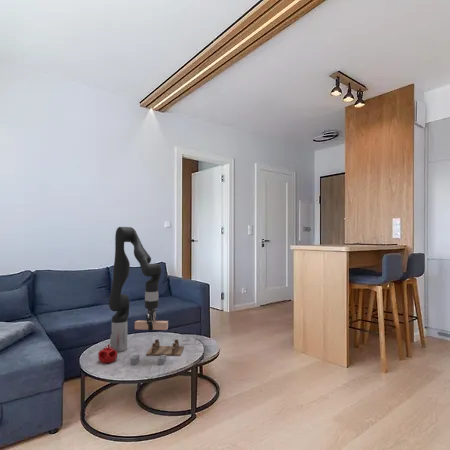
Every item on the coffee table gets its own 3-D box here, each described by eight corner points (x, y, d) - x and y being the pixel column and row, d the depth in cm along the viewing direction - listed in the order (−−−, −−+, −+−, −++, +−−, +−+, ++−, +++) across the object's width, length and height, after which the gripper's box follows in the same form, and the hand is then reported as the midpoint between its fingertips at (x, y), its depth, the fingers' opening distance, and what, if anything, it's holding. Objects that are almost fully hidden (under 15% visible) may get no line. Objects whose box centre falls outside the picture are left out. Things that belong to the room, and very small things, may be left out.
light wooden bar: (134, 329, 189) (134, 322, 189) (136, 327, 192) (136, 320, 192) (166, 329, 188) (166, 322, 188) (168, 328, 191) (168, 321, 191)
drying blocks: (130, 364, 184) (130, 358, 184) (133, 360, 190) (133, 354, 190) (163, 364, 183) (163, 359, 183) (165, 360, 189) (165, 355, 189)
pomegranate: (99, 359, 192) (99, 342, 192) (117, 357, 194) (117, 341, 194) (97, 365, 182) (97, 348, 182) (116, 363, 184) (116, 346, 185)
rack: (145, 355, 196) (146, 345, 197) (151, 347, 210) (151, 337, 211) (180, 355, 196) (180, 345, 196) (183, 347, 210) (183, 338, 210)
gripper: (148, 296, 197) (148, 326, 197) (141, 301, 183) (141, 333, 183) (161, 296, 197) (161, 326, 197) (155, 301, 183) (154, 333, 183)
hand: (151, 329), depth 190 cm, fingers closed on light wooden bar, 3 cm apart
